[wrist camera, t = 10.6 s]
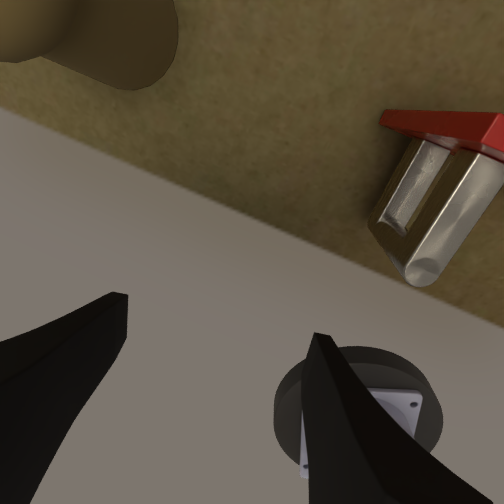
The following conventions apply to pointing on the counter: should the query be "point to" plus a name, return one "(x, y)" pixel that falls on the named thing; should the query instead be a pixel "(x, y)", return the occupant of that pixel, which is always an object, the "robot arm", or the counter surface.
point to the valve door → (437, 187)
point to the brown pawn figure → (93, 37)
